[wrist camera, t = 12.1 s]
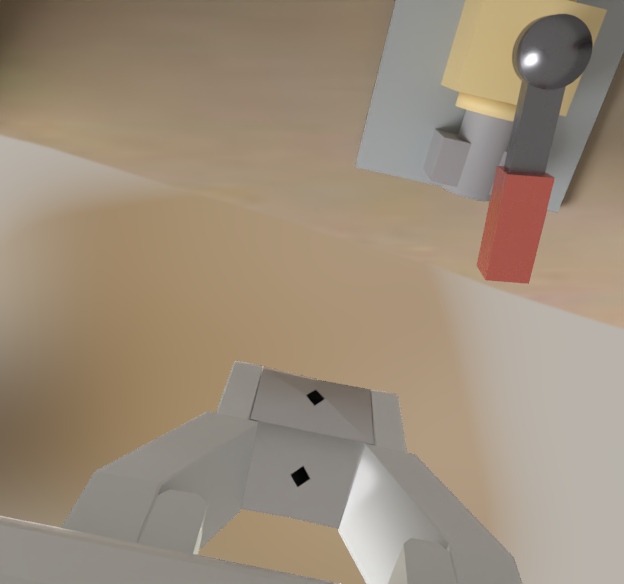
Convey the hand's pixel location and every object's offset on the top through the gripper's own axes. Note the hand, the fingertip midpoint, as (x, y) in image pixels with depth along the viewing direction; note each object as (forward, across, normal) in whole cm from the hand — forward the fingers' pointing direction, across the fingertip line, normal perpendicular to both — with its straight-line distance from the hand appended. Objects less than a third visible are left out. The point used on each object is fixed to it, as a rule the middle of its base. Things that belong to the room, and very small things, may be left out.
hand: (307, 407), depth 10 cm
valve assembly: (+35, -10, -8) cm, 37 cm away
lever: (+25, -11, -3) cm, 27 cm away
